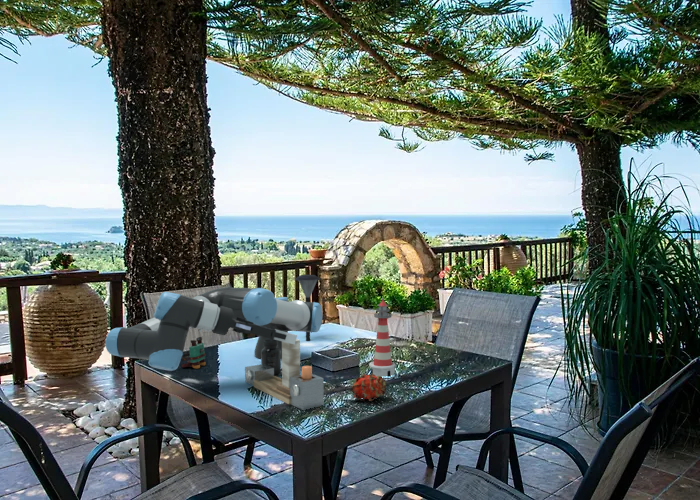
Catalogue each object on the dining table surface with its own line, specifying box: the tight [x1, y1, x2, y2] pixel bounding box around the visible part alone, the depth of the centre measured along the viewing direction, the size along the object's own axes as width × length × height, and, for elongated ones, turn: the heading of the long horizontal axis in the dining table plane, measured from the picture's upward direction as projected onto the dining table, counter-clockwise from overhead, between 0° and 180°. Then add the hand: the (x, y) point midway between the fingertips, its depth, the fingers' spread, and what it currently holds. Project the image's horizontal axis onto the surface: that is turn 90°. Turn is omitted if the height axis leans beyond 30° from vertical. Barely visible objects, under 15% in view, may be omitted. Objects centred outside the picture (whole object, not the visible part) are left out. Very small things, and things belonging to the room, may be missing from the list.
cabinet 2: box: [289, 373, 325, 411], centre depth 159 cm, size 8×7×8 cm
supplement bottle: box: [260, 340, 282, 377], centre depth 192 cm, size 7×7×12 cm
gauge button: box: [301, 365, 313, 380], centre depth 159 cm, size 3×3×6 cm
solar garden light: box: [294, 274, 321, 342], centre depth 249 cm, size 12×12×30 cm
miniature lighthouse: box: [368, 297, 396, 376], centre depth 190 cm, size 9×9×30 cm
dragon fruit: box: [348, 372, 388, 402], centre depth 163 cm, size 8×8×12 cm
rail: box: [253, 376, 291, 405], centre depth 170 cm, size 8×22×2 cm, turn 37°
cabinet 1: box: [244, 364, 274, 387], centre depth 182 cm, size 8×7×5 cm
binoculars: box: [180, 336, 207, 369], centre depth 203 cm, size 9×11×10 cm
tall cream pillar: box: [276, 338, 301, 395], centre depth 165 cm, size 6×8×16 cm
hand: (295, 339), depth 156 cm, fingers closed
